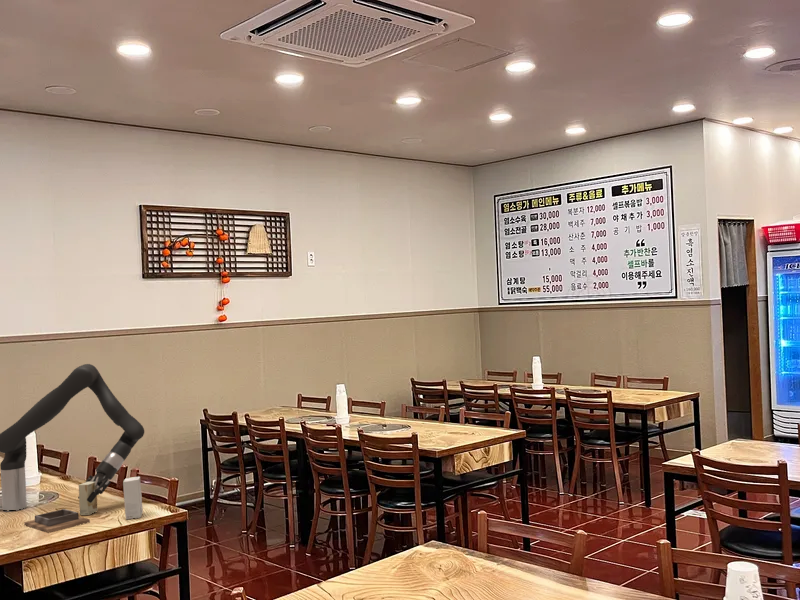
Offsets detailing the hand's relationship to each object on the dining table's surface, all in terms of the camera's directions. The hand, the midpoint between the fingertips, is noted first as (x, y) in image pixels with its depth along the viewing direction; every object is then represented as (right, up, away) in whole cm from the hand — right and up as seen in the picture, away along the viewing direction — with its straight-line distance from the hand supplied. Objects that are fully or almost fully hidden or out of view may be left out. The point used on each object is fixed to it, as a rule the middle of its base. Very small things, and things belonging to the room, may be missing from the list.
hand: (84, 500), depth 317 cm
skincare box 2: (+23, -5, -8) cm, 24 cm away
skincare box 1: (+1, -6, +1) cm, 6 cm away
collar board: (-5, -6, -13) cm, 15 cm away
